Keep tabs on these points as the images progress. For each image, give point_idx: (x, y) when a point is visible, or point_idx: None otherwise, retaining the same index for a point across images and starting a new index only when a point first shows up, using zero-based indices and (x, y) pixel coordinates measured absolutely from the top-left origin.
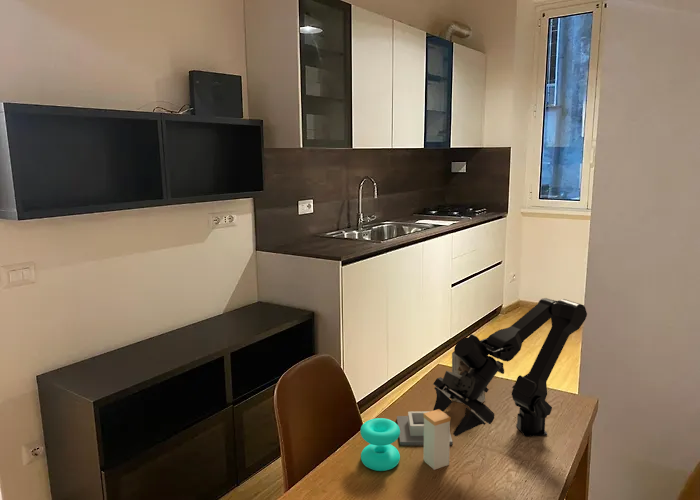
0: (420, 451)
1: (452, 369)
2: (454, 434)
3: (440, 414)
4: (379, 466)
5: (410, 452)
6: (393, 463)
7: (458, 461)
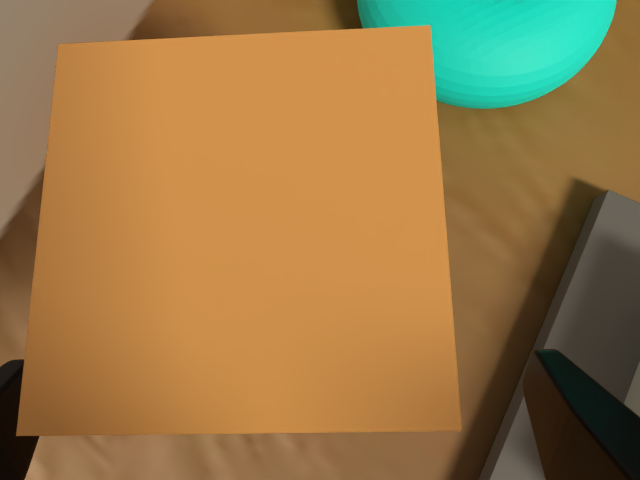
0: (472, 283)
1: None
2: (7, 366)
3: (227, 302)
4: None
5: (488, 216)
6: (362, 9)
7: (250, 452)
